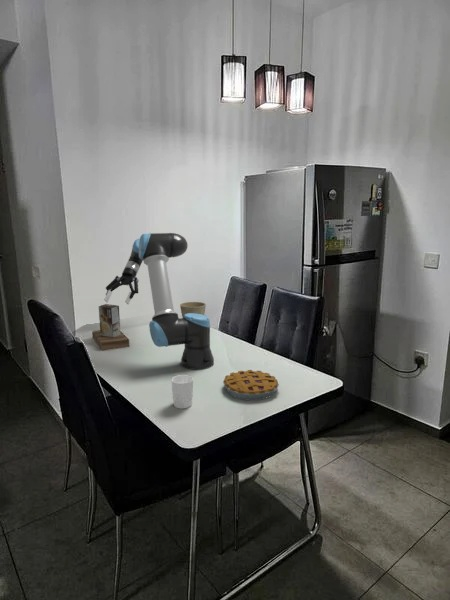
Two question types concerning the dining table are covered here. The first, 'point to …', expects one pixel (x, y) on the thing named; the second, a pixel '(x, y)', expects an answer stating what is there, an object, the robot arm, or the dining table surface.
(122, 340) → the walnut stand
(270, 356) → the dining table surface
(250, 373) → the pie
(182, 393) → the white cup
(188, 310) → the plant pot
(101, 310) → the coffee box
